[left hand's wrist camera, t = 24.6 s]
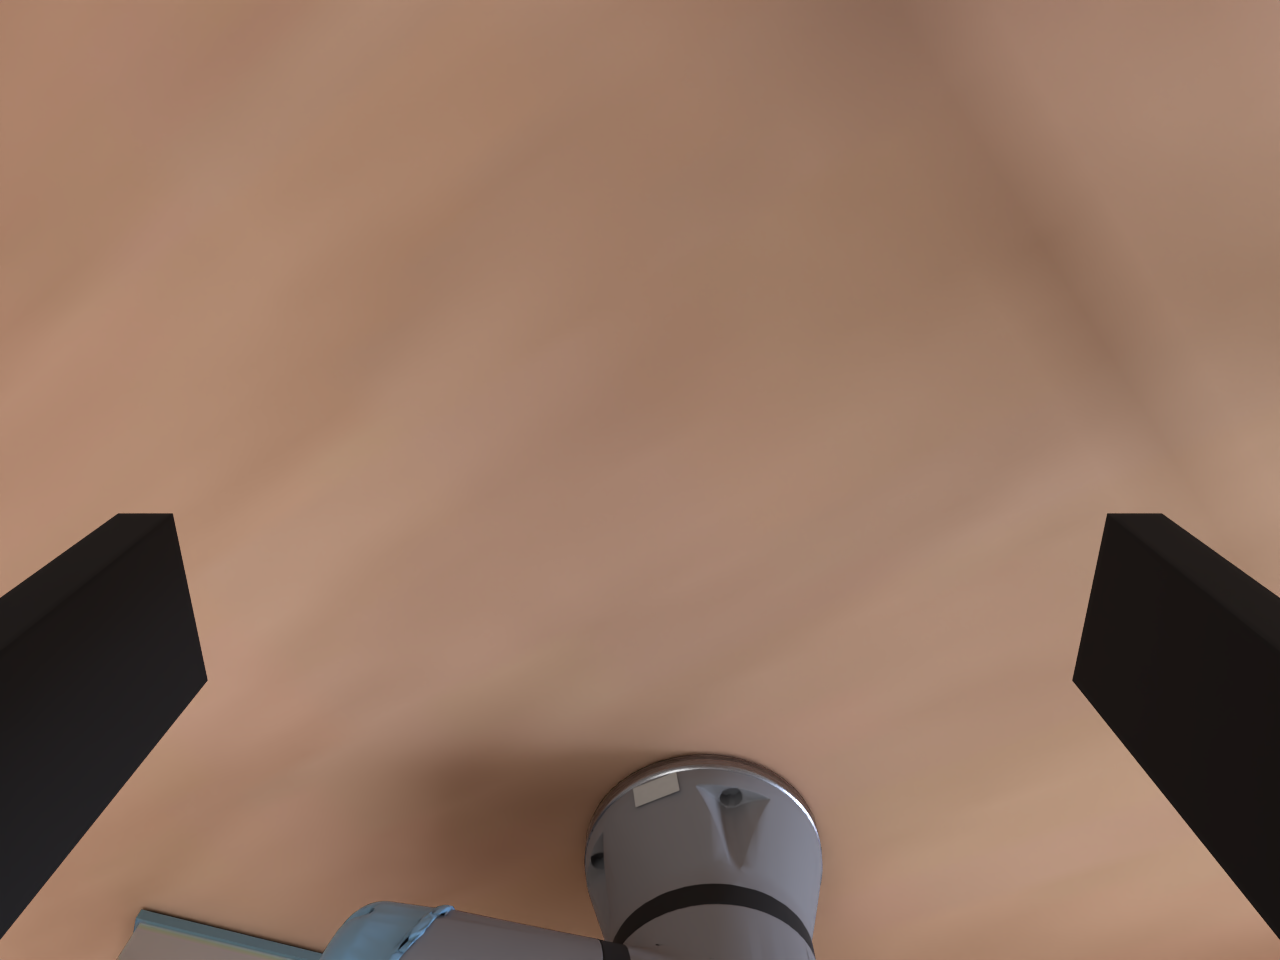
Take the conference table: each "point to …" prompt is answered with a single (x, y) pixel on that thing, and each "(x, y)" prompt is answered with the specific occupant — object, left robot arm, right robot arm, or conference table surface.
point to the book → (200, 942)
